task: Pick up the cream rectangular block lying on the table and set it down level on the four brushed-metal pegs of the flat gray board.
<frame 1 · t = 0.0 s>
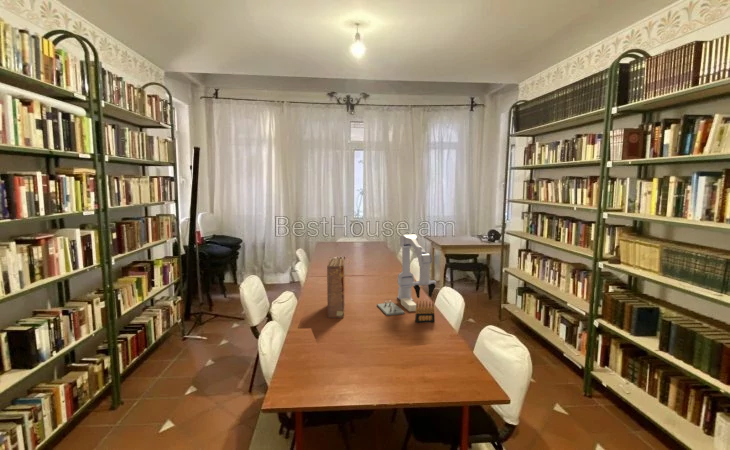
hand: (424, 297, 222), 10 cm above the table, tool pointing down, fingers open, 7 cm apart
flat gray board: (390, 309, 230), on the table
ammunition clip: (424, 322, 211), on the table
cream rectangular block: (408, 307, 235), on the table
book: (336, 310, 229), on the table
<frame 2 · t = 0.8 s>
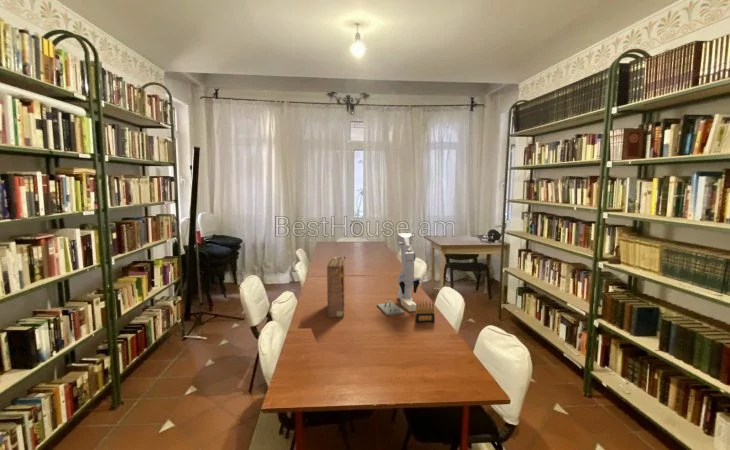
hand: (409, 293, 234), 9 cm above the table, tool pointing down, fingers open, 7 cm apart
nothing on the table moved.
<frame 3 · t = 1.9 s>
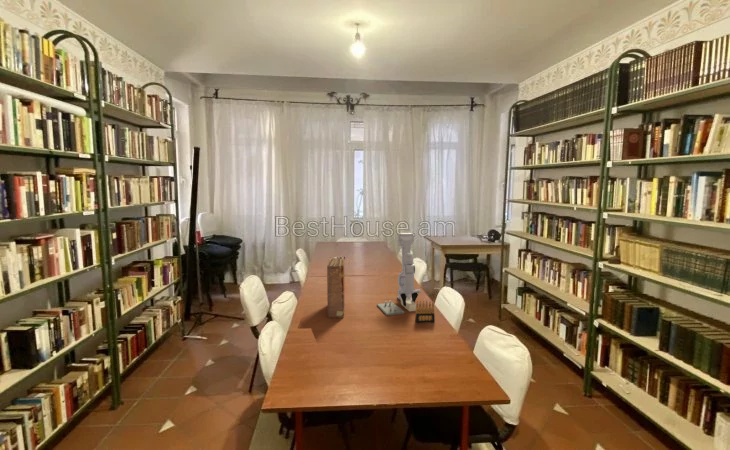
hand: (408, 305, 234), 1 cm above the table, tool pointing down, fingers closed on cream rectangular block, 5 cm apart
cream rectangular block: (408, 307, 235), on the table, touching gripper
everything else where it was.
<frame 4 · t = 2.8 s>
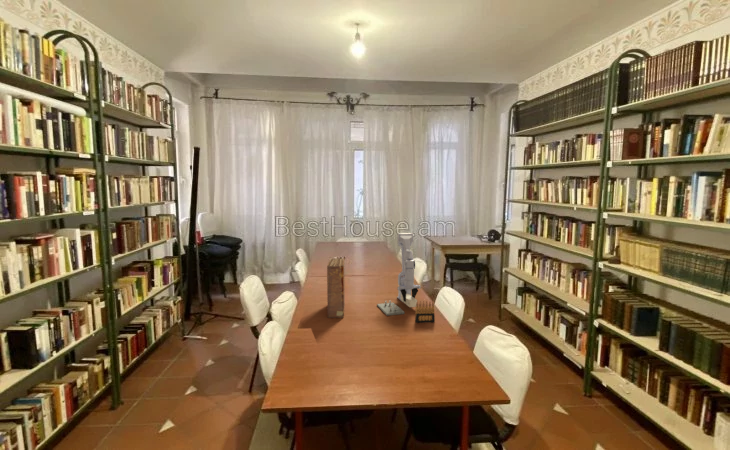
hand: (408, 300, 234), 4 cm above the table, tool pointing down, fingers closed on cream rectangular block, 5 cm apart
cream rectangular block: (408, 303, 234), point 2 cm above the table, touching gripper
everything else where it was.
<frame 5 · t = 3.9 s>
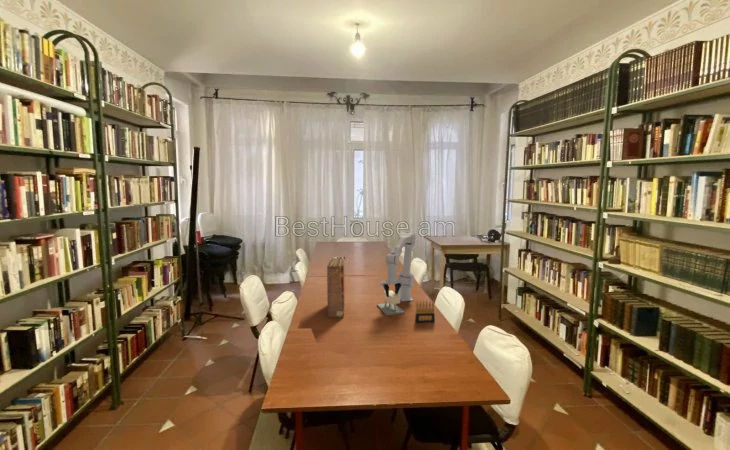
hand: (391, 296, 229), 8 cm above the table, tool pointing down, fingers closed on cream rectangular block, 5 cm apart
cream rectangular block: (391, 300, 230), point 6 cm above the table, touching gripper
everything else where it was.
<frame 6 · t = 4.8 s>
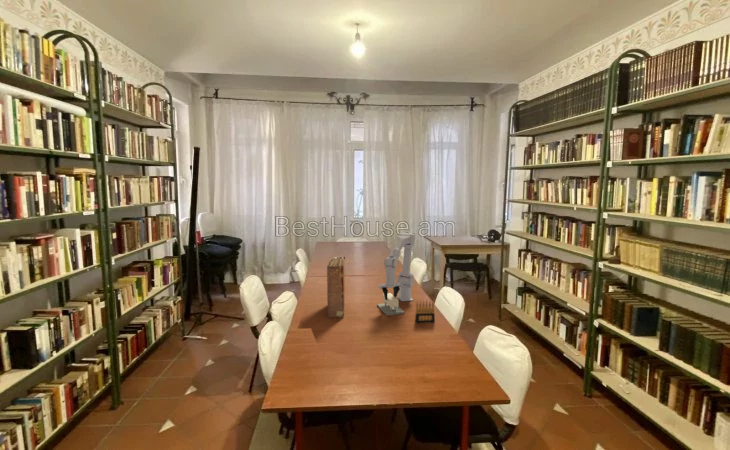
hand: (390, 299, 229), 7 cm above the table, tool pointing down, fingers closed on cream rectangular block, 5 cm apart
cream rectangular block: (390, 303, 230), point 4 cm above the table, touching gripper, flat gray board
everything else where it was.
when the fingers open (7 cm above the table, at t = 4.9 s): cream rectangular block stays where it is, resting on flat gray board.
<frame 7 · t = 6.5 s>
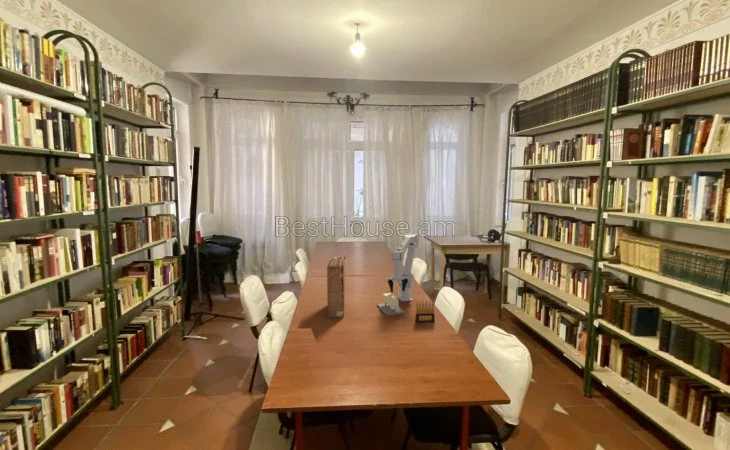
hand: (397, 291, 236), 9 cm above the table, tool pointing down, fingers open, 7 cm apart
cream rectangular block: (390, 303, 230), point 4 cm above the table, touching flat gray board
everything else where it was.
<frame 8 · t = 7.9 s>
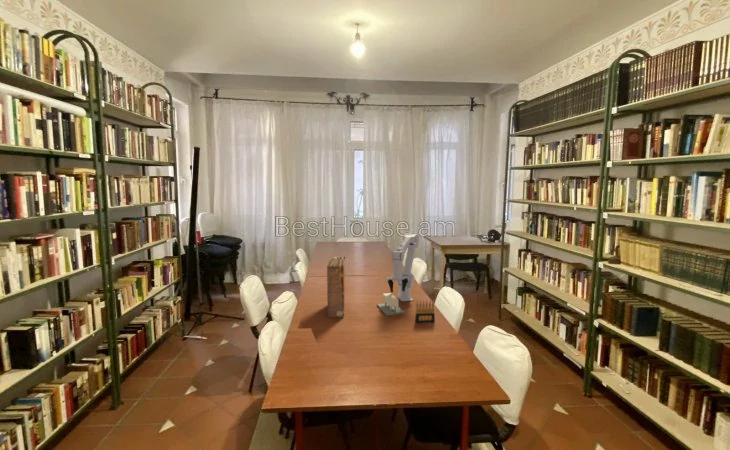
hand: (397, 291, 236), 9 cm above the table, tool pointing down, fingers open, 7 cm apart
nothing on the table moved.
at the end: cream rectangular block 0.1 cm off-centre on the flat gray board, point 4.2 cm above the flat gray board's base; cream rectangular block tilted 0°; the gripper is holding nothing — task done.
